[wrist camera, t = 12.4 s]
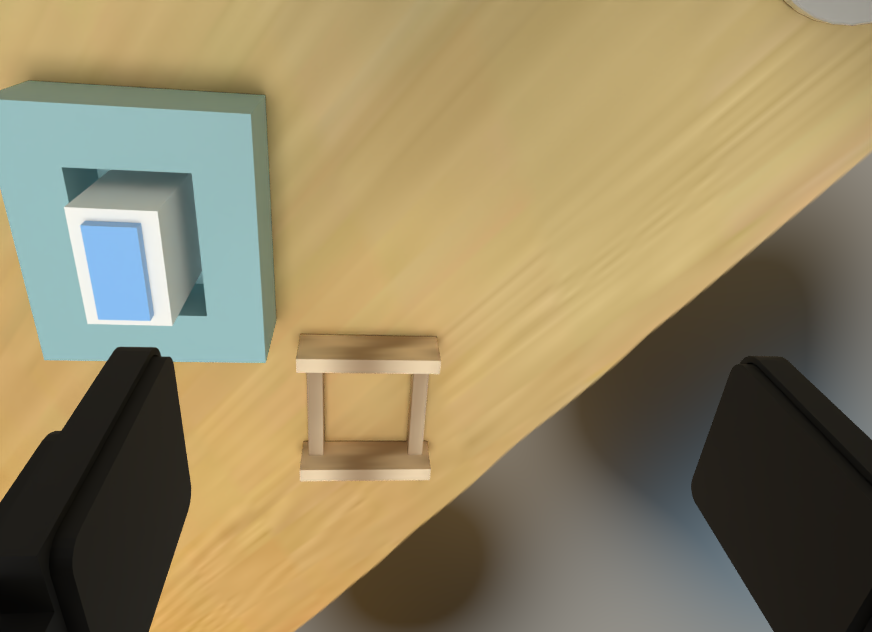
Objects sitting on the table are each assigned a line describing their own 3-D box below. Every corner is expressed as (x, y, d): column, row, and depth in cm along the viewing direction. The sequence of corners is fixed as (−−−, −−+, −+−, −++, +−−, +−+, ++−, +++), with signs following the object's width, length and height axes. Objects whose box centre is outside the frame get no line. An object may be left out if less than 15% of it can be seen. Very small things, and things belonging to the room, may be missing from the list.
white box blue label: (193, 168, 35) (153, 216, 28) (203, 267, 38) (169, 332, 31) (117, 164, 35) (58, 211, 28) (133, 265, 37) (82, 330, 31)
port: (265, 95, 35) (250, 114, 30) (276, 323, 41) (266, 365, 37) (28, 80, 33) (-23, 98, 29) (80, 319, 40) (45, 363, 36)
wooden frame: (436, 336, 43) (441, 360, 40) (426, 451, 48) (429, 479, 45) (300, 334, 42) (295, 359, 39) (303, 452, 47) (300, 481, 44)
